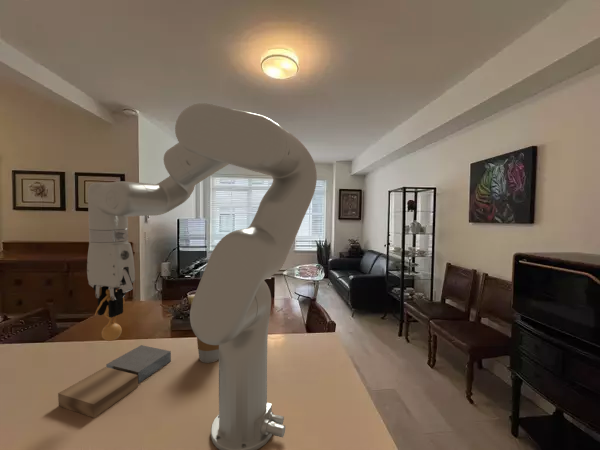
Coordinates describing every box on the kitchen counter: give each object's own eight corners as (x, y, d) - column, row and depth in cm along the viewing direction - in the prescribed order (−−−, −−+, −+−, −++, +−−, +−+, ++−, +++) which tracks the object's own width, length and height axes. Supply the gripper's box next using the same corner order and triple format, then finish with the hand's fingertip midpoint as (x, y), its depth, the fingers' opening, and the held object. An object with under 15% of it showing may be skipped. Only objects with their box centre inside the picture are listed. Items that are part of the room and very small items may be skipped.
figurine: (120, 334, 71) (108, 288, 71) (141, 329, 70) (128, 283, 70) (91, 349, 63) (77, 297, 63) (113, 344, 62) (100, 291, 62)
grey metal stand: (170, 361, 82) (170, 351, 82) (138, 383, 72) (138, 372, 71) (141, 354, 85) (141, 345, 85) (106, 375, 75) (106, 364, 75)
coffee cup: (219, 365, 80) (219, 313, 79) (190, 364, 80) (190, 313, 79) (227, 350, 88) (227, 303, 87) (201, 350, 89) (201, 303, 88)
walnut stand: (138, 386, 70) (138, 375, 70) (94, 417, 60) (93, 404, 60) (105, 378, 74) (105, 366, 73) (58, 406, 63) (58, 393, 63)
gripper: (149, 237, 66) (150, 313, 67) (100, 233, 71) (101, 304, 73) (120, 240, 59) (121, 326, 60) (67, 236, 64) (70, 314, 66)
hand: (110, 313), depth 66 cm, fingers closed on figurine, 2 cm apart
